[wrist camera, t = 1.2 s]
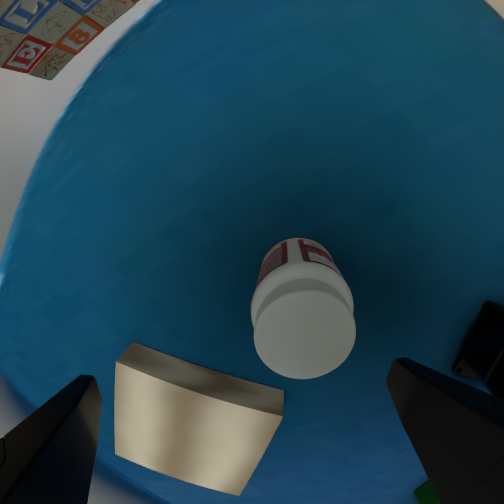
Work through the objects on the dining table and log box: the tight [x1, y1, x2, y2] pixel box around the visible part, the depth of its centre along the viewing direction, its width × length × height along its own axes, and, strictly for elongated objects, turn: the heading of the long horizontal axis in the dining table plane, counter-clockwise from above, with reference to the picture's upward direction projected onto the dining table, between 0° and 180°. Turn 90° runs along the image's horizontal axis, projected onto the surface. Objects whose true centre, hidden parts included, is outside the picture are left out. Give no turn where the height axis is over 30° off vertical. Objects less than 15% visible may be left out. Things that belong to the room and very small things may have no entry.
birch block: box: [115, 342, 284, 496], centre depth 22 cm, size 12×12×3 cm
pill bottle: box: [251, 238, 356, 379], centre depth 16 cm, size 5×5×8 cm
